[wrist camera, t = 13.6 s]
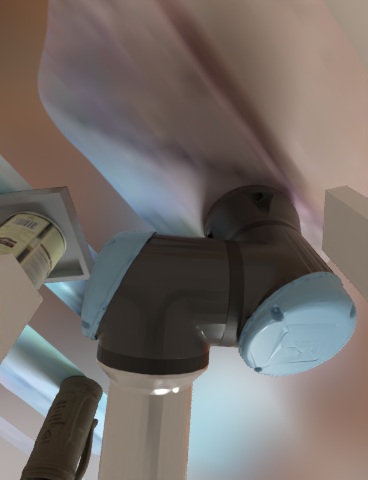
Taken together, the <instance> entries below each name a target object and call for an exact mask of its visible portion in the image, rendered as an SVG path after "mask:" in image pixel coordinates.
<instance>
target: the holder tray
mask: <svg viewBox="0 0 368 480" xmlns="http://www.w3.org/2000/svg"><path fill="white" fill-rule="evenodd" d="M20 211H32V212H37V213H40V214H42V215H45V216H47V217H49V218H50V219H52V220H53V221H54V222H55V223H56V224H57V225H58V226H59V227H60V228H61V230H62V231H63V233H64V235H65V238H66V243H67V245H66V250H65V253H64V254H63V256H62V257H61V258H60V259H59V261H58V262H57V264H56V265H55V267H54V268H53V269H52V271H51V272H50V274H49V275H48V277H47V278H46V279H45V281H44V282H43V283H53V282H64V281H75V280H86V279H89V277H90V274H91V272H92V269H93V266H94V262H93V259H92V256H91V253H90V251H89V248H88V245H87V242H86V239H85V236H84V234H83V231H82V228H81V225H80V222H79V219H78V216H77V214H76V211H75V208H74V205H73V202H72V199H71V197H70V193H69V191H68V188H67V186H65V187H56V188H47V189H37V190H28V191H19V192H10V193H1V194H0V224H1V223H2V222H3V221H5V220H6V219H7V218H8V217H9V216H10V215H12V214H14V213H17V212H20Z"/></svg>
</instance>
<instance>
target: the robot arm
mask: <svg viewBox="0 0 368 480" xmlns="http://www.w3.org/2000/svg"><path fill="white" fill-rule="evenodd" d="M204 233H205V238H203V237H191V236H180V235H170V234H159V233H157V232H156V231H151V232H120V233H117V234H115V235H114V236H112V237H111V238H110V239H109V240H108V241H107V242H106V244H105V245H104V247H103V248H102V250H101V251H100V253H99V255H98V257H97V259H96V261H95V264H94V266H93V269H92V272H91V274H90V277H89V281H88V284H87V287H86V291H85V296H84V300H83V306H82V313H81V318H82V319H83V320H82V325H81V328H82V332H83V334H84V335H85V336H86V337H88V338H90V339H91V340H97V339H98V350H97V363H98V364H99V366H100V367H101V368H102V369H103V370H104V371H105V373H106V374H107V375H108V376H109V379H110V380H109V388H108V397H107V405H106V414H105V422H104V431H103V439H102V448H101V456H100V465H99V473H98V480H186V476H187V461H188V446H189V430H190V416H191V400H192V385H193V381H194V380H195V379H197V378H198V377H199V376H200V375H201V374H202V373H203V372H204V371H205V370H206V369H207V368H208V363H209V349H210V346H225V347H237V348H239V353H240V356H241V357H242V358H243V359H244V361H245V363H246V364H247V365H248V366H249V367H250V368H253V369H254V370H255V371H256V372H258V373H261V374H264V375H270V376H271V375H272V376H284V375H292V374H296V373H300V372H303V371H306V370H309V369H311V368H314V367H316V366H318V365H320V364H321V363H323V362H325V361H327V360H328V359H330V358H331V357H333V356H334V355H335V354H337V353H338V352H339V351H340V350H341V349H342V348H343V347H344V346H345V345H346V343H347V342H348V341H349V339H350V338H351V336H352V334H353V332H354V330H355V327H356V323H357V311H356V307H355V304H354V302H353V300H352V299H351V298H350V296H349V294H348V293H347V292H346V290H345V289H344V287H343V284H342V282H341V280H340V278H339V277H338V276H337V275H335V274H334V273H333V271H332V270H331V269H330V268H329V267H328V266H327V264H326V263H325V262H324V261H323V260H322V258H321V257H320V256H319V255H318V254H317V253H316V251H315V250H314V249H313V248H312V247H311V246H310V244H309V243H308V242H307V241H306V240H305V238H304V237H303V236H302V235H301V228H300V220H299V216H298V213H297V211H296V209H295V207H294V206H293V204H292V203H291V202H290V201H289V200H288V199H287V198H286V197H285V196H284V195H283V194H282V193H281V192H279V191H277V190H275V189H273V188H271V187H267V186H262V185H250V186H244V187H240V188H237V189H235V190H232V191H230V192H229V193H227V194H225V195H224V196H223V197H221V198H220V199H219V200H218V201H217V202H216V203H215V204H214V205H213V207H212V208H211V210H210V211H209V213H208V216H207V218H206V221H205V227H204ZM322 250H323V251H324V252H325V254H326V255H327V256H328V257H329V258H330V259H331V260H332V262H333V263H334V264H335V265H336V266H337V267H338V268H339V270H340V271H341V272H342V273H343V274H344V275H345V276H346V278H347V279H348V280H349V281H350V282H351V283H352V284H353V285H354V286H355V288H356V289H357V290H358V291H359V292H360V294H361V295H362V296H363V297H364V298H365V299H366V300H367V301H368V198H367V197H365V196H363V195H362V194H360V193H358V192H356V191H355V190H353V189H351V188H350V187H348V186H342V187H337V188H332V189H327V190H325V207H324V224H323V241H322ZM42 301H43V299H42V297H41V296H40V294H39V293H38V291H37V290H36V288H35V287H34V285H33V284H32V282H31V281H30V279H29V278H28V276H27V275H26V273H25V272H24V270H23V268H22V267H21V265H20V264H19V262H18V261H17V259H16V258H15V256H14V255H13V253H10V254H5V255H1V256H0V364H1V363H2V361H3V359H4V358H5V356H6V355H7V353H8V352H9V350H10V349H11V347H12V346H13V344H14V343H15V341H16V340H17V338H18V337H19V335H20V334H21V332H22V331H23V329H24V328H25V326H26V325H27V323H28V322H29V320H30V318H31V317H32V315H33V314H34V313H35V311H36V310H37V308H38V307H39V305H40V304H41V302H42Z"/></svg>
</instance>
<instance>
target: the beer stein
mask: <svg viewBox="0 0 368 480" xmlns="http://www.w3.org/2000/svg"><path fill="white" fill-rule="evenodd" d="M102 394H103V390H102V388H101V386H100V385H99V384H98V383H97V382H95V381H94V380H92V379H89V378H86V377H82V376H75V377H69V378H67V379H66V380H64V381H63V382H62V384H61V386H60V390H59V393H58V394H57V395H56V398H55V399H54V401H53V403H52V406H51V407H50V409H49V411H48V414H47V417H46V419H45V421H44V424H43V426H42V428H41V430H40V432H39V434H38V437H37V439H36V441H35V445H34V448H33V451H32V453H31V455H30V457H29V460H28V462H27V464H26V466H25V467H24V469H23V471H22V476H21V479H20V480H81V479H82V477H83V475H84V474H85V472H86V469H87V467H88V463H89V459H90V455H91V448H92V439H93V431H94V428H95V427H96V425H97V424H98V420H97V419H94V416H95V414H96V410H97V408H98V403H99V401H100V399H101V397H102ZM80 456H81V459H80V463H79V466H78V468H77V471H76V467H77V463H78V461H79V458H80ZM75 471H76V473H75Z"/></svg>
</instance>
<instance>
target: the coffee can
mask: <svg viewBox="0 0 368 480" xmlns="http://www.w3.org/2000/svg"><path fill="white" fill-rule="evenodd" d="M66 245H67V243H66V238H65V235H64V233H63V231H62V230H61V228H60V227H59V226H58V225H57V224H56V223H55V222H54V221H53V220H52V219H50V218H49V217H47V216H45V215H42V214H40V213H37V212H32V211H20V212H17V213H14V214H12V215H10V216H9V217H8V218H7V219H6V220H5V221H3V222H2V223H1V224H0V256H1V255H5V254H10V253H13V255H14V256H15V258H16V259H17V261H18V262H19V264H20V265H21V267H22V268H23V270H24V272H25V273H26V275H27V276H28V278H29V279H30V281H31V282H32V284H33V285H34V287H35V288H36V290H37V291H38V290H39V288H40V287H41V285H42V284H43V282H44V281H45V279H46V278H47V277H48V275H49V274H50V272H51V271H52V269H53V268H54V267H55V265H56V264H57V262H58V261H59V259H60V258H61V257H62V256H63V254H64V253H65V250H66Z"/></svg>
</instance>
